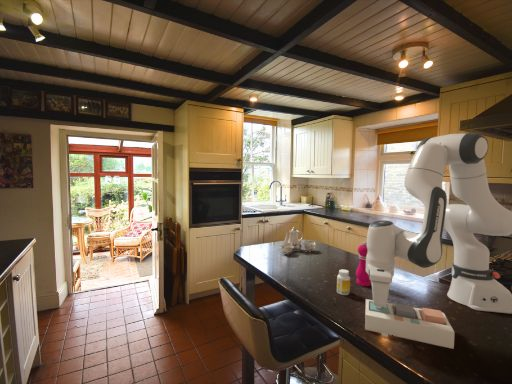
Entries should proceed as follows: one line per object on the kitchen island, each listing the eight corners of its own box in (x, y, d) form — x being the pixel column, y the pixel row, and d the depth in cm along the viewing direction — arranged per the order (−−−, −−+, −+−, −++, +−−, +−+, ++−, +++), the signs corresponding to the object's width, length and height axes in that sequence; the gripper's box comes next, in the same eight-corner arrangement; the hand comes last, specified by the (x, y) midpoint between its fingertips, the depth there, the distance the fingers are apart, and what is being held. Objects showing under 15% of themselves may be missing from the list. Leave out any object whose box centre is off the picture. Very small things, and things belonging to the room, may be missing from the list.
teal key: (385, 313, 92) (386, 305, 92) (386, 321, 87) (387, 312, 87) (369, 310, 94) (370, 302, 94) (369, 317, 89) (370, 309, 89)
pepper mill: (373, 287, 119) (375, 244, 118) (356, 286, 120) (358, 243, 119) (369, 281, 126) (371, 240, 125) (354, 279, 127) (355, 239, 126)
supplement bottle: (334, 292, 113) (335, 270, 113) (340, 288, 117) (340, 267, 117) (346, 296, 110) (347, 274, 109) (351, 292, 114) (352, 270, 113)
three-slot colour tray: (442, 327, 88) (443, 312, 87) (453, 348, 77) (454, 331, 76) (365, 312, 97) (365, 298, 97) (365, 329, 86) (365, 314, 86)
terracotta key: (440, 319, 86) (440, 310, 86) (444, 327, 81) (445, 318, 81) (421, 316, 88) (422, 307, 88) (424, 324, 83) (425, 314, 83)
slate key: (412, 314, 89) (412, 305, 89) (414, 322, 84) (415, 313, 84) (394, 311, 91) (395, 302, 91) (396, 318, 86) (396, 309, 86)
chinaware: (285, 260, 162) (287, 234, 159) (271, 250, 176) (272, 226, 174) (319, 254, 175) (321, 230, 173) (303, 245, 190) (305, 223, 187)
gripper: (369, 258, 101) (368, 293, 101) (369, 276, 82) (368, 319, 83) (387, 260, 98) (386, 296, 99) (392, 280, 79) (390, 324, 80)
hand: (378, 307), depth 91 cm, fingers closed, pressing on teal key
